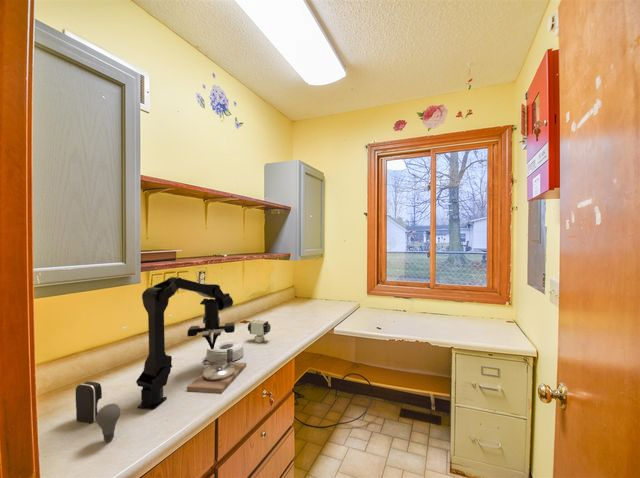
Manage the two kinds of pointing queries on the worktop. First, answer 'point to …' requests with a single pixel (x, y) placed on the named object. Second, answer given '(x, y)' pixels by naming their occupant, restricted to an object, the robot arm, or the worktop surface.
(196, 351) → the worktop surface
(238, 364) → the board
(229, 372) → the metal disc with handle
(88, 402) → the battery charger
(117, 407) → the light bulb
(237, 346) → the cable
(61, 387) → the worktop surface
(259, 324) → the pneumatic valve
